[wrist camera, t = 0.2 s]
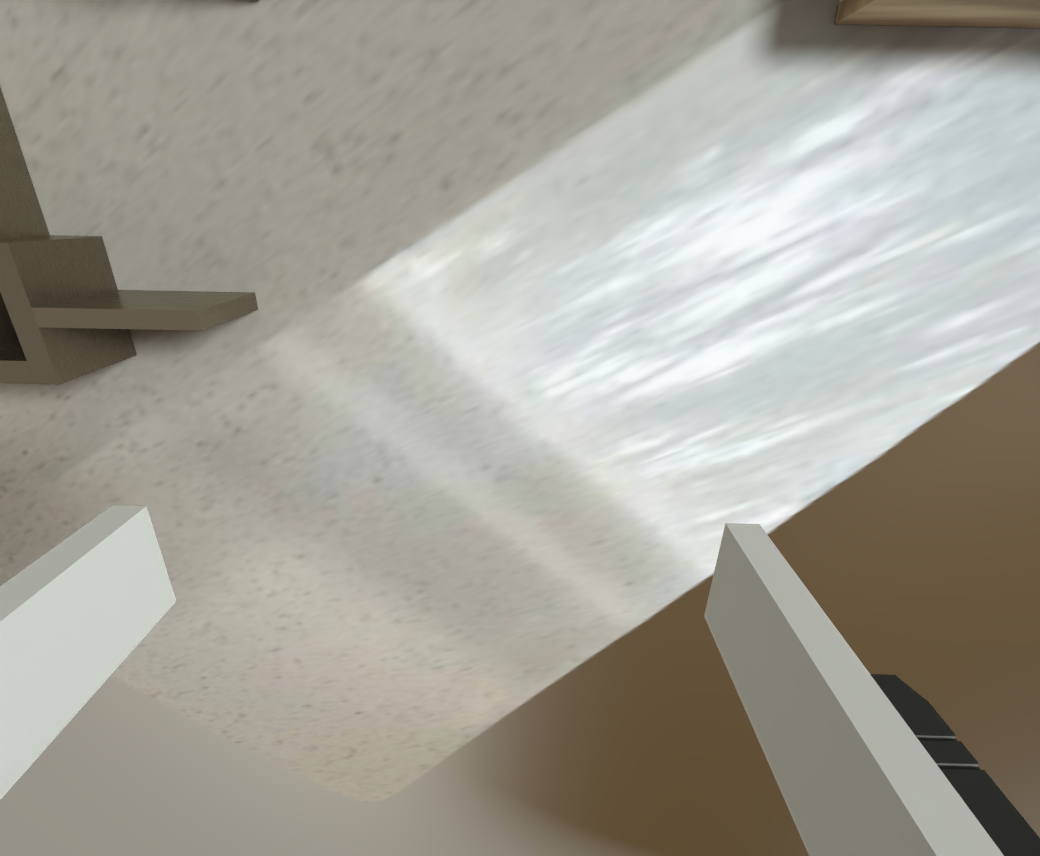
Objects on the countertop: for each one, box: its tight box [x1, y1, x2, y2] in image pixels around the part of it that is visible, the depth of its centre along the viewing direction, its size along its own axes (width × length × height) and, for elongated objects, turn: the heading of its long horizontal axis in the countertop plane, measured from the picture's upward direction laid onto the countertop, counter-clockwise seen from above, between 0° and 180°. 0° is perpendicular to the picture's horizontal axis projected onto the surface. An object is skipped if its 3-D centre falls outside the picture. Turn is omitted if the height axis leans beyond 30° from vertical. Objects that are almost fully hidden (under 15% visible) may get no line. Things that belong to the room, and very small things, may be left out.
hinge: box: [0, 88, 258, 384], centre depth 31 cm, size 20×18×7 cm
